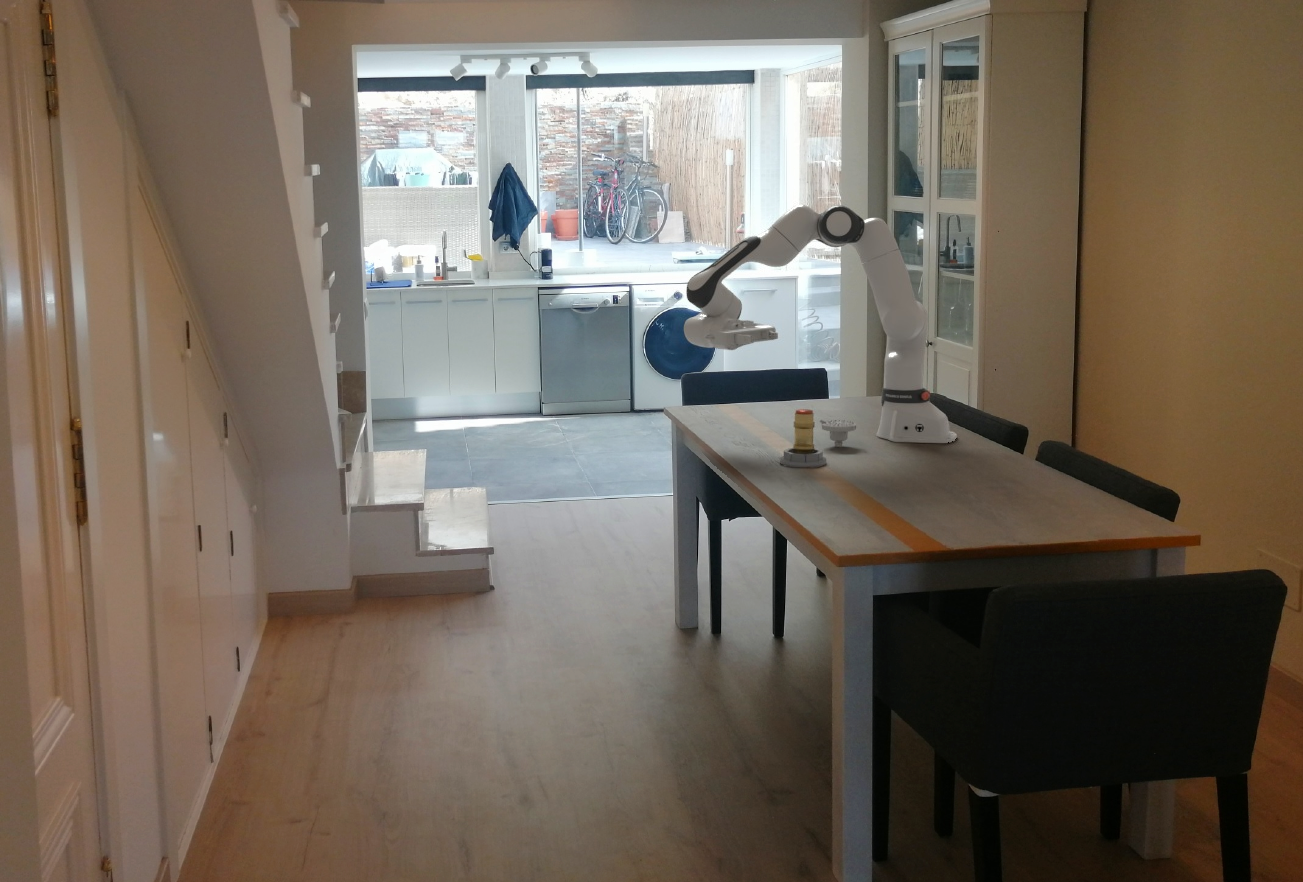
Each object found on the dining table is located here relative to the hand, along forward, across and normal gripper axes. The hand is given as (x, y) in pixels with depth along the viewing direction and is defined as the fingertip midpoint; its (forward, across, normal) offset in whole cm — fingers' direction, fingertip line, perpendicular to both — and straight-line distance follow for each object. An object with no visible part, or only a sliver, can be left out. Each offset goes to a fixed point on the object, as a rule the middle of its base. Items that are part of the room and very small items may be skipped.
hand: (763, 337), depth 341 cm
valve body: (+21, -7, +30) cm, 37 cm away
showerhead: (+12, +17, +31) cm, 37 cm away
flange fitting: (+21, -7, +31) cm, 38 cm away
